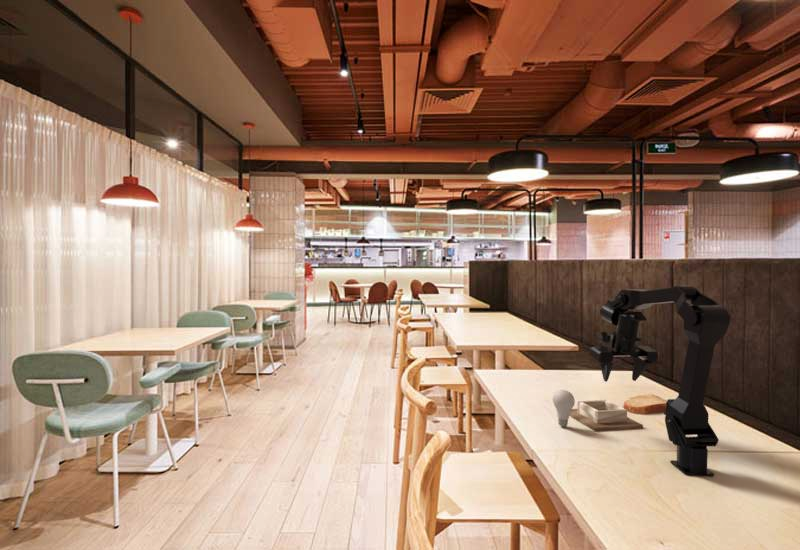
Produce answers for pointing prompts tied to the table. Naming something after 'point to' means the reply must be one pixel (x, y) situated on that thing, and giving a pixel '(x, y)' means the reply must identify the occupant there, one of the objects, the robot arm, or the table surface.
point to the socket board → (603, 416)
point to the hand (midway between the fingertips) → (619, 380)
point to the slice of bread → (645, 404)
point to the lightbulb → (563, 405)
